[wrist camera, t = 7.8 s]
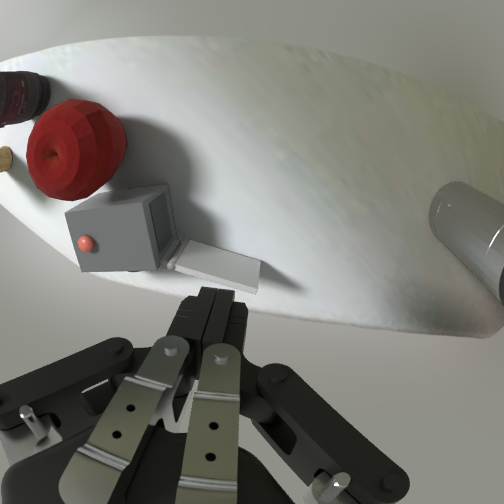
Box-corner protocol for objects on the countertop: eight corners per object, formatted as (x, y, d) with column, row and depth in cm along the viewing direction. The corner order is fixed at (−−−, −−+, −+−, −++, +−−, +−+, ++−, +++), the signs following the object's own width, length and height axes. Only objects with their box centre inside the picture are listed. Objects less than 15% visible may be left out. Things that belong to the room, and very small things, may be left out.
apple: (80, 188, 39) (21, 220, 27) (67, 112, 34) (1, 122, 22) (151, 174, 37) (99, 204, 25) (138, 89, 32) (79, 83, 20)
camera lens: (58, 107, 33) (-17, 118, 20) (25, 128, 35) (-45, 147, 21) (50, 61, 30) (-23, 58, 17) (17, 85, 31) (-52, 93, 18)
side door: (258, 267, 41) (255, 297, 35) (182, 244, 41) (166, 270, 34) (261, 259, 41) (258, 288, 34) (184, 237, 40) (167, 261, 34)
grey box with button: (174, 182, 38) (146, 203, 29) (185, 247, 41) (163, 281, 33) (98, 193, 39) (60, 215, 30) (112, 251, 43) (81, 282, 34)
